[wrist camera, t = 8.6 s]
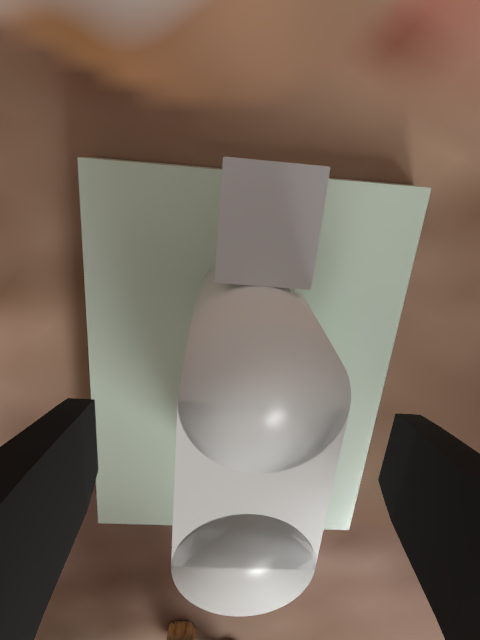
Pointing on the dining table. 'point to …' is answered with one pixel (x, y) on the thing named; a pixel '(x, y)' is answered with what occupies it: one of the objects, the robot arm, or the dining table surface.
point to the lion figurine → (181, 631)
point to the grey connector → (257, 400)
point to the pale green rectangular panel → (178, 302)
